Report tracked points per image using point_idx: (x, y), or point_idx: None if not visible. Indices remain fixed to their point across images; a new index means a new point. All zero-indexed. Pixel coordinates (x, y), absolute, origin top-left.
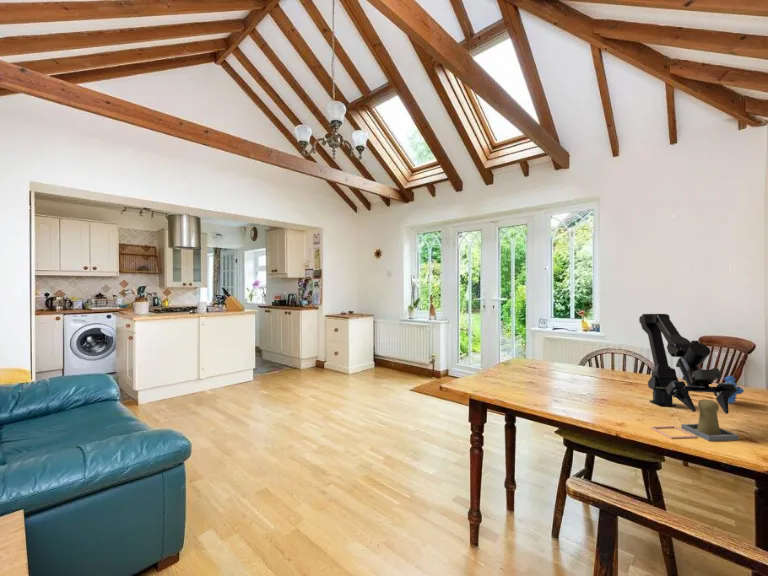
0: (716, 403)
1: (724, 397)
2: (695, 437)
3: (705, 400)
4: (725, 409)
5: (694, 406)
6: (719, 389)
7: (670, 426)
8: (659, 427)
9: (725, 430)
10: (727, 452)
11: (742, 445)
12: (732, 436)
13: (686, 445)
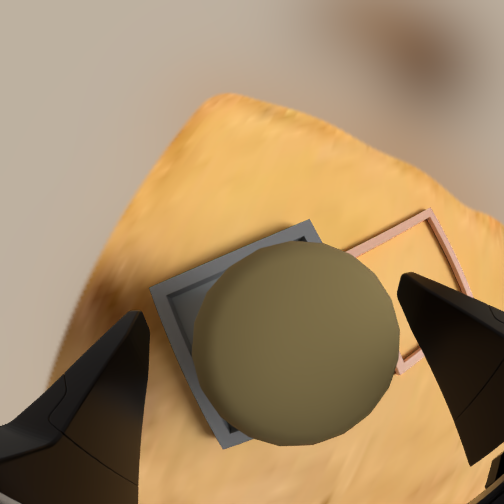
0: (226, 288)
1: (50, 427)
2: (349, 251)
3: (356, 334)
4: (135, 333)
5: (424, 287)
6: None
7: (417, 354)
8: None
9: (180, 351)
10: (274, 136)
11: (177, 223)
12: (183, 273)
13: (389, 162)
